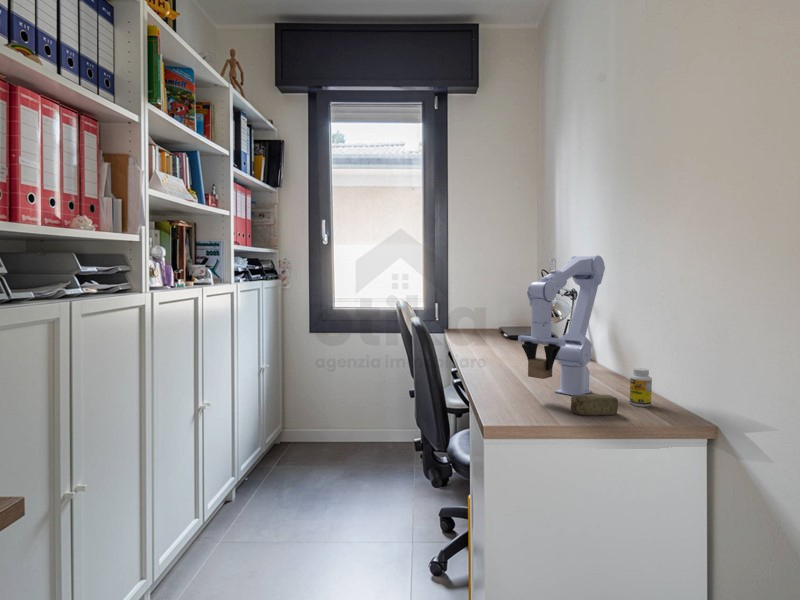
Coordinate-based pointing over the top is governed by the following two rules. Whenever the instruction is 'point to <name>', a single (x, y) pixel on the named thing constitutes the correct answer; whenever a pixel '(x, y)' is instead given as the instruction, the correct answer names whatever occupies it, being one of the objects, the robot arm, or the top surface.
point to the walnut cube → (538, 368)
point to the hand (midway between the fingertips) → (540, 368)
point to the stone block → (594, 404)
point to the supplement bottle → (640, 388)
